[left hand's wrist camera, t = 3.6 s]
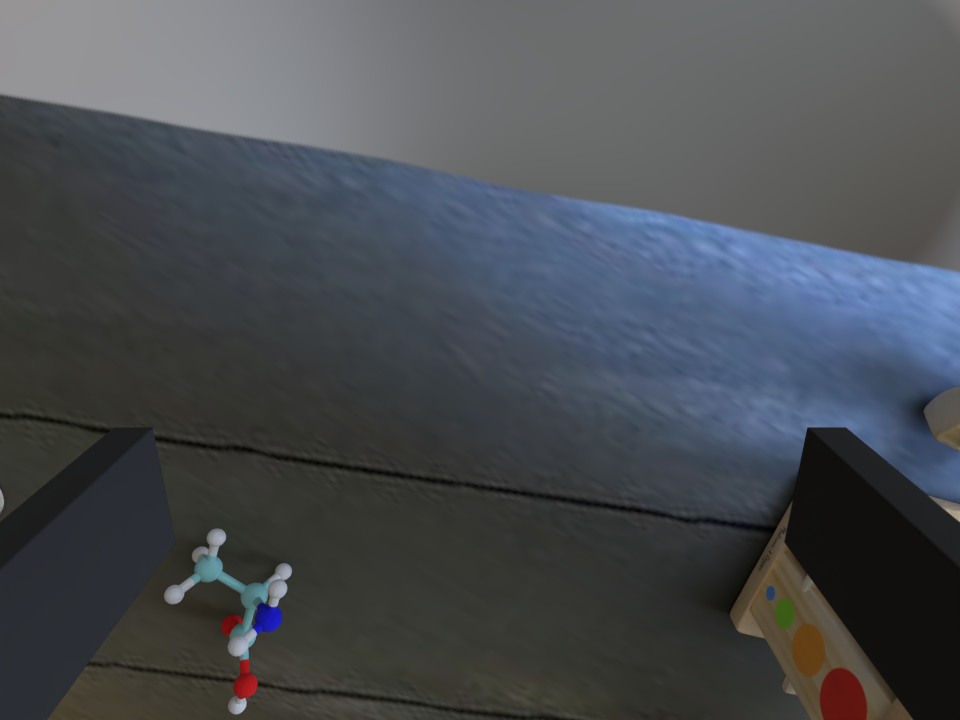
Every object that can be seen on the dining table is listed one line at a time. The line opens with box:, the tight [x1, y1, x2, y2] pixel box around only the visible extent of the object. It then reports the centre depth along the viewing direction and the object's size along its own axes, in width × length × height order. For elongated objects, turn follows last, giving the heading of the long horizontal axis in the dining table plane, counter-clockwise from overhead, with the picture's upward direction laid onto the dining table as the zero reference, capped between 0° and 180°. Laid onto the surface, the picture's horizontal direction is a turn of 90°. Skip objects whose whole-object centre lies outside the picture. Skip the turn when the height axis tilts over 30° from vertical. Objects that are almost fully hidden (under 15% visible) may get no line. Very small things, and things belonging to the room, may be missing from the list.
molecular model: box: [164, 529, 292, 714], centre depth 44 cm, size 12×10×10 cm
